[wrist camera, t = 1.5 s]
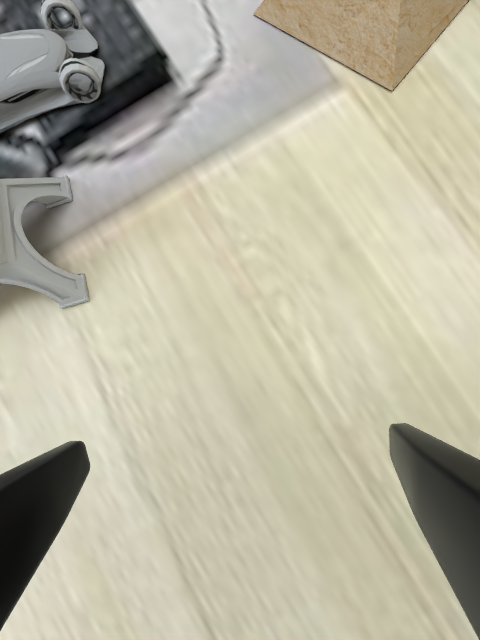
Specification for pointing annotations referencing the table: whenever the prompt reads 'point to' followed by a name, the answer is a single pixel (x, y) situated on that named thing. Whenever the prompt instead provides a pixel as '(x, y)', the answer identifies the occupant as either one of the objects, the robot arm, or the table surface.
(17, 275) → the eiffel tower
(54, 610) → the table surface
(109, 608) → the table surface
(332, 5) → the model pyramid
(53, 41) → the car model
